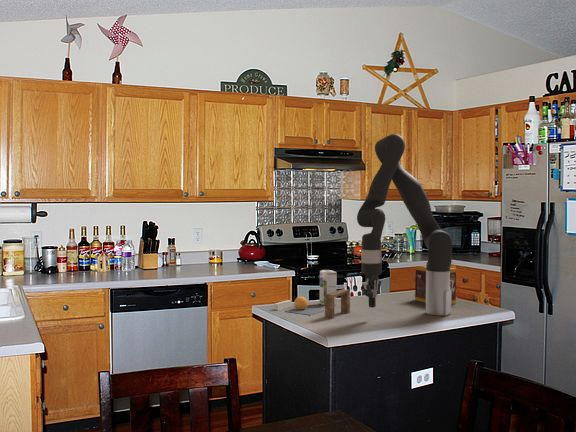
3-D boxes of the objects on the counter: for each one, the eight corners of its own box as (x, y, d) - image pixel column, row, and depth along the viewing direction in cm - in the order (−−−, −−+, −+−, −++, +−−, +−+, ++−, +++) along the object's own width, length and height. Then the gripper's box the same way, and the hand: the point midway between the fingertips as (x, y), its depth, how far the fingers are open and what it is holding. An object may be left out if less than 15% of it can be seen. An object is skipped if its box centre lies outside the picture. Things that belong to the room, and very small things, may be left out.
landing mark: (325, 310, 251) (325, 309, 251) (310, 315, 241) (310, 314, 241) (301, 307, 258) (301, 306, 258) (284, 311, 248) (284, 311, 248)
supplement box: (437, 306, 262) (438, 269, 261) (414, 300, 275) (415, 265, 275) (456, 303, 267) (456, 268, 266) (432, 298, 280) (433, 264, 280)
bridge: (349, 312, 247) (350, 289, 246) (331, 318, 235) (331, 295, 234) (343, 311, 248) (343, 289, 248) (324, 318, 236) (325, 294, 236)
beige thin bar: (291, 306, 260) (291, 300, 259) (278, 310, 251) (278, 304, 251) (287, 305, 261) (287, 300, 261) (274, 309, 252) (274, 303, 252)
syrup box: (318, 303, 266) (319, 270, 266) (331, 302, 268) (331, 269, 268) (324, 305, 261) (324, 271, 260) (336, 305, 263) (337, 271, 262)
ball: (308, 310, 253) (311, 298, 252) (300, 313, 249) (303, 300, 248) (298, 305, 256) (300, 293, 255) (290, 308, 252) (292, 295, 251)
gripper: (373, 263, 224) (374, 311, 225) (387, 260, 235) (388, 305, 236) (354, 262, 228) (355, 309, 229) (369, 259, 239) (370, 303, 240)
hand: (372, 307), depth 232 cm, fingers closed
